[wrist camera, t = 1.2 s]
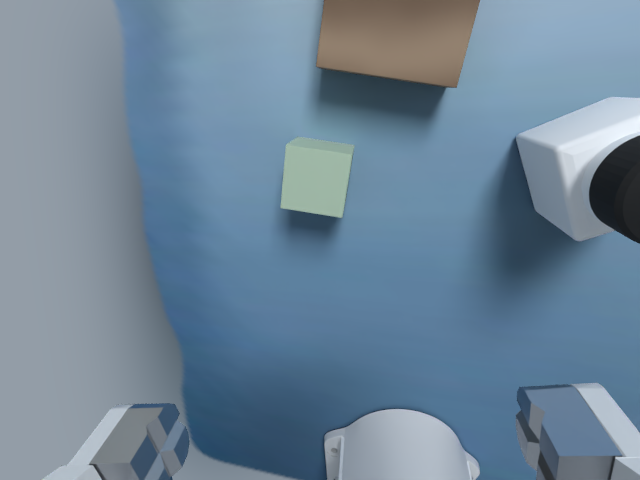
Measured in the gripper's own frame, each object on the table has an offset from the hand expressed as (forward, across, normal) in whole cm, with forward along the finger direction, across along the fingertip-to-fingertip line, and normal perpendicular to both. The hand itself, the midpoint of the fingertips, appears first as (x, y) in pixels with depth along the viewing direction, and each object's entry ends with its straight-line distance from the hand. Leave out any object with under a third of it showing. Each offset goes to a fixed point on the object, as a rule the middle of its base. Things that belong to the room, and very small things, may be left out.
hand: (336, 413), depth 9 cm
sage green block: (+26, +3, 0) cm, 26 cm away
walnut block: (+26, -5, -12) cm, 29 cm away
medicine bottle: (+26, -17, +2) cm, 31 cm away
